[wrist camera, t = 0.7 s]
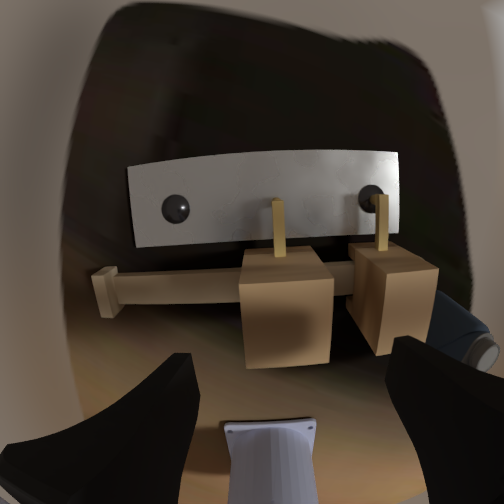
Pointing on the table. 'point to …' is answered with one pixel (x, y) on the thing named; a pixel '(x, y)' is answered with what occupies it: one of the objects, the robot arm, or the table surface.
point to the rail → (187, 286)
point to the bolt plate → (261, 195)
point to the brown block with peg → (285, 303)
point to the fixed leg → (389, 287)
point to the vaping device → (461, 334)
